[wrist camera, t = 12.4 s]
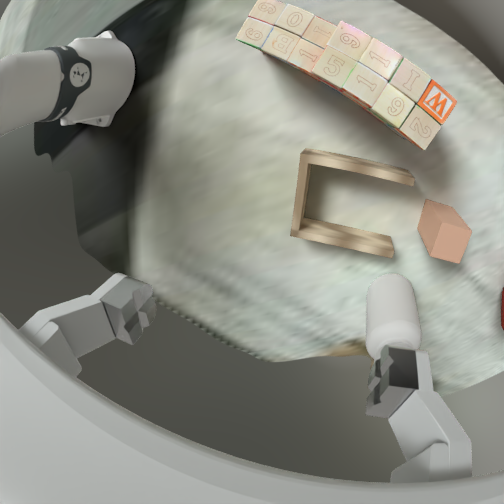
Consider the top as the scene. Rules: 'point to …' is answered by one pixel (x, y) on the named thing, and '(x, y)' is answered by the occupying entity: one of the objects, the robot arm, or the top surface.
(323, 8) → the top surface
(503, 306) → the apple
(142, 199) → the top surface
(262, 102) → the top surface
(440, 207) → the terracotta block
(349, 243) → the oak u-shaped frame
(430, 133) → the stack of blocks
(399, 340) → the pill bottle
